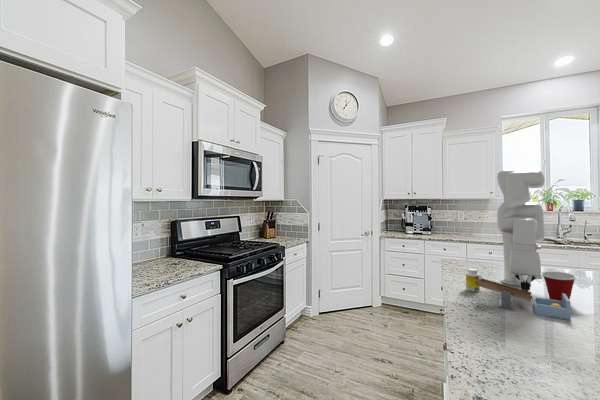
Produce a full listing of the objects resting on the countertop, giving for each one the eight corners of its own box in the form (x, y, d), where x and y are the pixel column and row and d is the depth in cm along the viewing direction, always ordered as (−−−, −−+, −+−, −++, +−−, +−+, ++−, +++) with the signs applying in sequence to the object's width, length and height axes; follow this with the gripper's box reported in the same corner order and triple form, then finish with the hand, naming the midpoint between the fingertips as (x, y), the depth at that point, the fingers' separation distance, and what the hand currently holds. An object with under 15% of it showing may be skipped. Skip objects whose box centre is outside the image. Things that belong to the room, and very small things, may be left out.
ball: (549, 301, 108) (561, 303, 106) (549, 310, 108) (562, 312, 105) (550, 304, 105) (563, 305, 103) (551, 313, 105) (563, 315, 103)
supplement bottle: (476, 293, 130) (475, 271, 130) (464, 289, 135) (463, 269, 135) (481, 290, 133) (481, 269, 133) (469, 287, 138) (469, 267, 138)
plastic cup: (536, 299, 120) (535, 272, 120) (551, 296, 124) (550, 269, 124) (567, 308, 110) (566, 278, 110) (582, 304, 114) (582, 275, 114)
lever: (479, 279, 128) (480, 272, 127) (528, 293, 117) (530, 286, 117) (477, 285, 118) (478, 279, 117) (531, 302, 107) (532, 294, 107)
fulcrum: (499, 300, 120) (498, 284, 120) (513, 302, 117) (513, 286, 117) (498, 308, 112) (498, 290, 112) (514, 310, 109) (513, 292, 109)
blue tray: (532, 306, 113) (531, 289, 113) (565, 311, 107) (565, 293, 107) (534, 314, 105) (534, 296, 105) (570, 320, 99) (570, 301, 99)
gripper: (547, 248, 114) (548, 292, 114) (502, 245, 123) (503, 286, 123) (549, 250, 108) (550, 297, 108) (502, 247, 117) (503, 290, 117)
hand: (525, 291), depth 115 cm, fingers closed
